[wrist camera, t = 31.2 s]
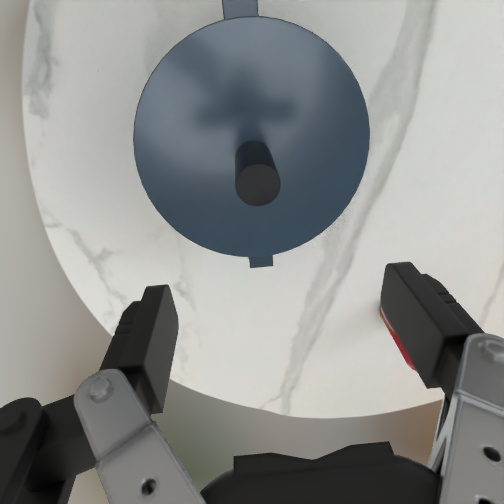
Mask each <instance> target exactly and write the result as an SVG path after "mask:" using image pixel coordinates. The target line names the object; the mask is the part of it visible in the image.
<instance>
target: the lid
mask: <svg viewBox="0 0 504 504" xmlns="http://www.w3.org/2000/svg"><path fill="white" fill-rule="evenodd" d="M369 139H370V129H369V118H368V112H367V108H366V103H365V99H364V97H363V94H362V91H361V89H360V86H359V84H358V82H357V80H356V78H355V76H354V75H353V73H352V71H351V69H350V68H349V66H348V65H347V64H346V63H345V61H344V60H343V59H342V57H341V56H340V55H339V54H338V53H337V52H336V51H335V50H334V49H333V48H332V47H331V46H330V45H329V44H328V43H327V42H325V41H324V40H323V39H321V38H320V37H318V36H317V35H316V34H314V33H313V32H311V31H309V30H307V29H305V28H303V27H301V26H299V25H297V24H294V23H291V22H287V21H284V20H281V19H277V18H270V17H263V16H242V17H236V18H231V19H225V20H221V21H218V22H216V23H213V24H210V25H207V26H205V27H203V28H201V29H199V30H197V31H195V32H194V33H192V34H190V35H188V36H187V37H186V38H184V39H183V40H182V41H180V42H179V43H178V44H177V45H175V46H174V47H173V48H172V49H171V50H170V51H169V52H168V53H167V54H166V55H165V56H164V57H163V58H162V60H161V61H160V62H159V64H158V65H157V67H156V68H155V69H154V71H153V72H152V74H151V75H150V77H149V79H148V81H147V83H146V85H145V87H144V89H143V91H142V94H141V97H140V100H139V103H138V106H137V111H136V116H135V121H134V135H133V143H134V155H135V160H136V165H137V170H138V173H139V176H140V179H141V182H142V185H143V187H144V189H145V191H146V193H147V195H148V197H149V199H150V200H151V202H152V203H153V205H154V206H155V208H156V209H157V211H158V212H159V213H160V214H161V215H162V217H163V218H164V219H165V220H166V221H167V222H168V223H169V224H170V225H171V226H172V227H173V228H174V229H175V230H176V231H178V232H179V233H180V234H182V235H183V236H185V237H186V238H187V239H189V240H191V241H193V242H194V243H196V244H198V245H200V246H202V247H205V248H207V249H209V250H212V251H215V252H219V253H222V254H227V255H232V256H241V257H260V256H268V255H274V254H278V253H281V252H285V251H288V250H291V249H293V248H296V247H298V246H300V245H302V244H304V243H306V242H308V241H310V240H311V239H313V238H314V237H316V236H317V235H319V234H320V233H322V232H323V231H324V230H325V229H326V228H328V227H329V226H330V225H331V224H332V223H333V222H334V221H335V220H336V219H337V218H338V217H339V216H340V215H341V213H342V212H343V211H344V209H345V208H346V207H347V205H348V204H349V203H350V201H351V199H352V197H353V196H354V194H355V192H356V191H357V188H358V186H359V184H360V181H361V179H362V177H363V173H364V170H365V166H366V163H367V157H368V151H369Z"/></svg>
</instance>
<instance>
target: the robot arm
mask: <svg viewBox="0 0 504 504" xmlns="http://www.w3.org/2000/svg"><path fill="white" fill-rule="evenodd" d="M381 306H382V310H383V312H384V314H385V316H386V318H387V319H388V321H389V323H390V325H391V326H392V328H393V330H394V332H395V333H396V335H397V337H398V339H399V340H400V342H401V344H402V346H403V347H404V349H405V351H406V353H407V354H408V356H409V358H410V360H411V361H412V363H413V365H414V367H415V368H416V370H417V372H418V374H419V375H420V377H421V379H422V381H423V382H424V384H425V386H426V388H427V389H428V388H439V387H441V388H442V390H443V392H444V393H445V395H444V398H443V401H442V406H441V411H440V416H439V420H438V425H437V429H436V434H435V439H434V444H433V448H432V452H431V456H430V459H429V462H428V465H427V467H426V466H424V465H422V464H421V463H419V462H416V461H414V460H412V459H409V458H406V457H403V456H400V455H395V454H394V453H393V450H392V448H391V445H390V443H389V441H388V442H378V443H368V444H357V445H350V446H347V447H345V448H342V449H340V450H337V451H335V452H333V453H330V454H328V455H325V456H323V457H321V458H318V459H314V460H310V459H303V458H298V457H292V456H287V455H281V454H276V453H263V454H253V455H243V456H234V469H232V470H229V471H227V472H225V473H223V474H222V475H220V476H219V477H217V478H215V479H214V480H213V481H211V482H210V483H209V484H208V485H207V486H206V487H205V488H204V489H202V491H201V492H200V493H199V491H198V490H197V488H196V486H195V485H194V483H193V481H192V480H191V478H190V477H189V475H188V473H187V472H186V470H185V469H184V467H183V465H182V464H181V462H180V460H179V459H178V457H177V456H176V454H175V452H174V451H173V449H172V447H171V446H170V444H169V443H168V441H167V439H166V438H165V436H164V435H163V433H162V431H161V430H160V428H159V427H158V425H157V424H156V422H155V421H152V419H151V414H156V413H162V412H163V408H164V402H165V397H166V392H167V387H168V381H169V377H170V371H171V366H172V361H173V356H174V351H175V345H176V340H177V335H178V316H177V312H176V308H175V305H174V301H173V297H172V294H171V290H170V287H169V285H167V284H166V285H156V286H147V287H146V289H145V291H144V294H143V297H142V299H141V301H134V302H132V303H131V304H130V305H129V307H128V308H127V309H126V310H125V311H124V312H123V314H122V316H121V319H120V321H119V326H117V328H116V331H115V335H114V336H113V338H112V341H111V343H110V345H109V348H108V350H107V353H106V355H105V357H104V360H103V362H102V365H101V367H100V369H99V371H98V372H96V373H95V374H92V375H91V376H89V377H88V378H87V379H86V380H84V381H83V382H82V383H81V385H80V386H79V387H78V389H77V390H76V393H75V394H74V395H71V396H69V397H67V398H64V399H61V400H58V401H56V402H53V403H50V404H47V405H45V406H41V404H40V403H39V401H38V400H36V399H34V398H21V399H17V400H15V401H12V402H10V403H9V404H7V405H5V406H3V407H2V408H0V504H67V503H68V500H69V497H70V494H71V491H72V487H73V484H74V481H75V478H76V475H78V474H80V473H82V472H85V471H87V470H89V469H92V468H93V467H96V470H97V473H98V476H99V478H100V481H101V483H102V486H103V488H104V491H105V494H106V496H107V499H108V501H109V504H504V339H503V338H501V337H498V336H496V335H492V334H486V333H485V332H484V331H483V330H482V329H481V328H480V327H479V326H478V325H477V323H476V322H475V321H474V320H473V319H472V318H471V317H470V315H469V314H468V313H467V312H466V311H465V310H464V309H463V308H462V306H461V305H460V304H459V303H457V302H456V300H455V299H454V297H453V296H452V295H451V294H449V292H448V291H447V290H446V288H445V287H444V286H443V285H442V284H441V283H440V282H439V281H437V280H436V279H434V278H432V277H431V276H429V275H427V274H421V273H420V272H419V271H418V270H417V269H416V267H415V266H414V265H413V264H412V263H411V262H399V263H389V264H387V265H386V268H385V273H384V279H383V285H382V291H381Z"/></svg>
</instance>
